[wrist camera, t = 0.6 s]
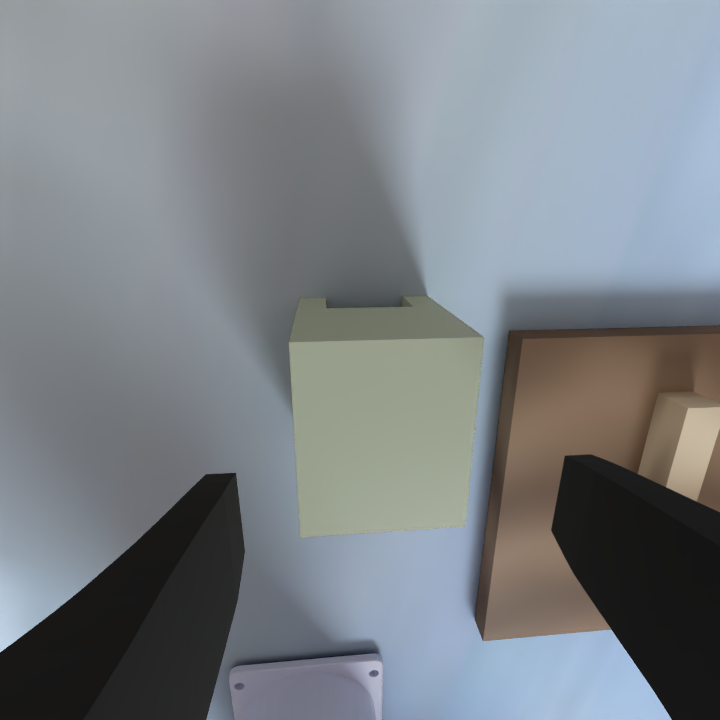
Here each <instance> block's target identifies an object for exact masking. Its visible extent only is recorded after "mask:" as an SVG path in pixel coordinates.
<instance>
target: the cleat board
mask: <svg viewBox="0 0 720 720" xmlns="http://www.w3.org/2000/svg"><path fill="white" fill-rule="evenodd" d="M587 454H591V455H594V456H597V457H600V458H602V459H605V460H607V461H610V462H612V463H614V464H617V465H619V466H621V467H624V468H626V469H628V470H630V471H632V472H635V473H637V474H639V475H641V476H643V477H645V478H647V479H650V480H652V481H654V482H656V483H658V484H660V485H662V486H665V487H667V488H669V489H671V490H673V491H675V492H677V493H679V494H682V495H684V496H686V497H688V498H690V499H692V500H694V501H697V502H699V503H701V504H703V505H705V506H707V507H710V508H712V509H714V510H716V511H718V512H720V326H687V327H648V328H608V329H568V330H529V331H509V338H508V346H507V355H506V363H505V372H504V380H503V388H502V397H501V405H500V413H499V422H498V430H497V438H496V447H495V455H494V463H493V472H492V480H491V488H490V497H489V505H488V513H487V522H486V530H485V538H484V547H483V555H482V563H481V572H480V580H479V589H478V597H477V605H476V614H475V622H476V624H477V627H478V629H479V632H480V634H481V637H482V640H483V641H489V640H500V639H511V638H522V637H533V636H544V635H555V634H566V633H577V632H588V631H599V630H609V629H611V628H610V627H609V625H608V624H607V622H606V621H605V619H604V618H603V617H602V615H601V614H600V612H599V611H598V609H597V608H596V606H595V605H594V603H593V602H592V601H591V599H590V598H589V596H588V595H587V593H586V592H585V590H584V589H583V587H582V586H581V584H580V583H579V581H578V580H577V578H576V577H575V575H574V574H573V572H572V570H571V568H570V566H569V564H568V563H567V561H566V559H565V557H564V555H563V553H562V551H561V549H560V547H559V545H558V543H557V541H556V539H555V537H554V535H553V533H552V531H551V528H552V522H553V517H554V512H555V506H556V501H557V495H558V490H559V485H560V479H561V474H562V468H563V463H564V458H565V456H568V455H587Z"/></svg>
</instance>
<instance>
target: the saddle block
mask: <svg viewBox="0 0 720 720" xmlns="http://www.w3.org/2000/svg"><path fill="white" fill-rule="evenodd" d="M483 344H484V337H483V336H482V335H480V334H479V333H478V332H476V331H475V330H474V329H472V328H471V327H469V326H468V325H467V324H465V323H464V322H463V321H461V320H460V319H458V318H457V317H456V316H454V315H453V314H452V313H450V312H449V311H448V310H446V309H445V308H443V307H442V306H441V305H439V304H438V303H437V302H435V301H434V300H432V299H431V298H430V297H428V296H402V307H370V308H326V298H300V299H299V303H298V307H297V311H296V315H295V319H294V323H293V327H292V331H291V335H290V339H289V355H290V372H291V390H292V407H293V424H294V441H295V458H296V475H297V492H298V509H299V526H300V538H302V537H317V536H332V535H347V534H362V533H377V532H392V531H407V530H422V529H437V528H452V527H465V525H466V515H467V505H468V495H469V484H470V474H471V464H472V454H473V444H474V434H475V424H476V414H477V404H478V394H479V384H480V374H481V364H482V354H483Z"/></svg>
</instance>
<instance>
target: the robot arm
mask: <svg viewBox="0 0 720 720" xmlns="http://www.w3.org/2000/svg"><path fill="white" fill-rule="evenodd" d="M551 531H552V533H553V535H554V537H555V539H556V541H557V543H558V545H559V547H560V549H561V551H562V553H563V555H564V557H565V559H566V561H567V563H568V564H569V566H570V568H571V570H572V572H573V574H574V575H575V577H576V578H577V580H578V581H579V583H580V584H581V586H582V587H583V589H584V590H585V592H586V593H587V595H588V596H589V598H590V599H591V601H592V602H593V603H594V605H595V606H596V608H597V609H598V611H599V612H600V614H601V615H602V617H603V618H604V619H605V621H606V622H607V624H608V625H609V627H610V628H611V630H612V631H613V632H614V634H615V635H616V637H617V638H618V640H619V641H620V643H621V644H622V645H623V647H624V648H625V650H626V651H627V653H628V654H629V656H630V657H631V658H632V660H633V661H634V663H635V664H636V666H637V667H638V669H639V670H640V671H641V673H642V674H643V676H644V677H645V679H646V680H647V682H648V683H649V684H650V686H651V688H652V689H653V691H654V692H655V694H656V695H657V697H658V698H659V700H660V701H661V703H662V705H663V706H664V708H665V709H666V711H667V712H668V714H669V716H670V717H671V719H672V720H720V512H718V511H716V510H714V509H712V508H710V507H707V506H705V505H703V504H701V503H699V502H697V501H694V500H692V499H690V498H688V497H686V496H684V495H682V494H679V493H677V492H675V491H673V490H671V489H669V488H667V487H665V486H662V485H660V484H658V483H656V482H654V481H652V480H650V479H647V478H645V477H643V476H641V475H639V474H637V473H635V472H632V471H630V470H628V469H626V468H624V467H621V466H619V465H617V464H614V463H612V462H610V461H607V460H605V459H602V458H600V457H597V456H594V455H591V454H587V455H568V456H565V458H564V463H563V468H562V474H561V479H560V485H559V490H558V495H557V501H556V506H555V512H554V517H553V522H552V528H551ZM244 553H245V549H244V540H243V532H242V523H241V514H240V505H239V497H238V488H237V479H236V473H225V474H206V475H205V476H204V477H203V478H202V479H201V480H200V481H199V482H197V483H196V484H195V485H194V486H193V487H192V488H191V489H190V490H189V491H188V492H187V493H186V494H185V495H184V496H183V497H182V498H181V499H180V500H179V501H178V502H177V503H176V504H175V505H174V506H173V507H172V508H171V509H170V510H169V511H168V512H167V513H166V514H165V515H164V516H163V517H162V518H161V519H160V520H159V521H158V522H157V523H156V524H155V525H154V526H152V527H151V528H150V529H149V530H148V531H147V532H146V533H145V534H144V535H143V536H142V537H141V538H140V539H139V540H138V541H137V542H136V543H135V544H133V545H132V546H131V547H130V548H129V549H128V550H127V551H125V552H124V553H123V554H122V555H121V556H120V557H119V558H117V559H116V560H115V561H114V562H113V563H112V564H111V565H109V566H108V567H107V568H106V569H105V570H104V571H103V572H101V573H100V574H99V575H98V576H97V577H96V578H95V579H93V580H92V581H91V582H90V583H89V584H88V585H87V586H85V587H84V588H83V589H82V590H81V591H79V592H78V593H77V594H76V595H75V596H73V597H72V598H71V599H70V600H68V601H67V602H66V603H65V604H63V605H62V606H61V607H60V608H58V609H57V610H56V611H55V612H53V613H52V614H51V615H49V616H48V617H47V618H46V619H44V620H43V621H42V622H40V623H39V624H38V625H36V626H35V627H34V628H32V629H31V630H30V631H28V632H27V633H26V634H24V635H23V636H22V637H20V638H19V639H18V640H17V641H15V642H14V643H13V644H11V645H10V646H8V647H7V648H6V649H4V650H3V651H2V652H0V720H206V718H207V714H208V711H209V707H210V703H211V699H212V696H213V692H214V688H215V684H216V680H217V677H218V673H219V669H220V665H221V662H222V658H223V654H224V650H225V647H226V643H227V639H228V635H229V631H230V628H231V624H232V620H233V616H234V612H235V608H236V604H237V600H238V594H239V587H240V581H241V574H242V567H243V560H244ZM229 685H230V692H231V698H232V705H233V712H234V719H235V720H382V697H383V660H382V657H381V656H380V655H379V654H376V653H372V654H361V655H350V656H339V657H328V658H317V659H306V660H296V661H285V662H274V663H263V664H252V665H241V666H236V667H234V668H232V669H231V671H230V675H229Z"/></svg>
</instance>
